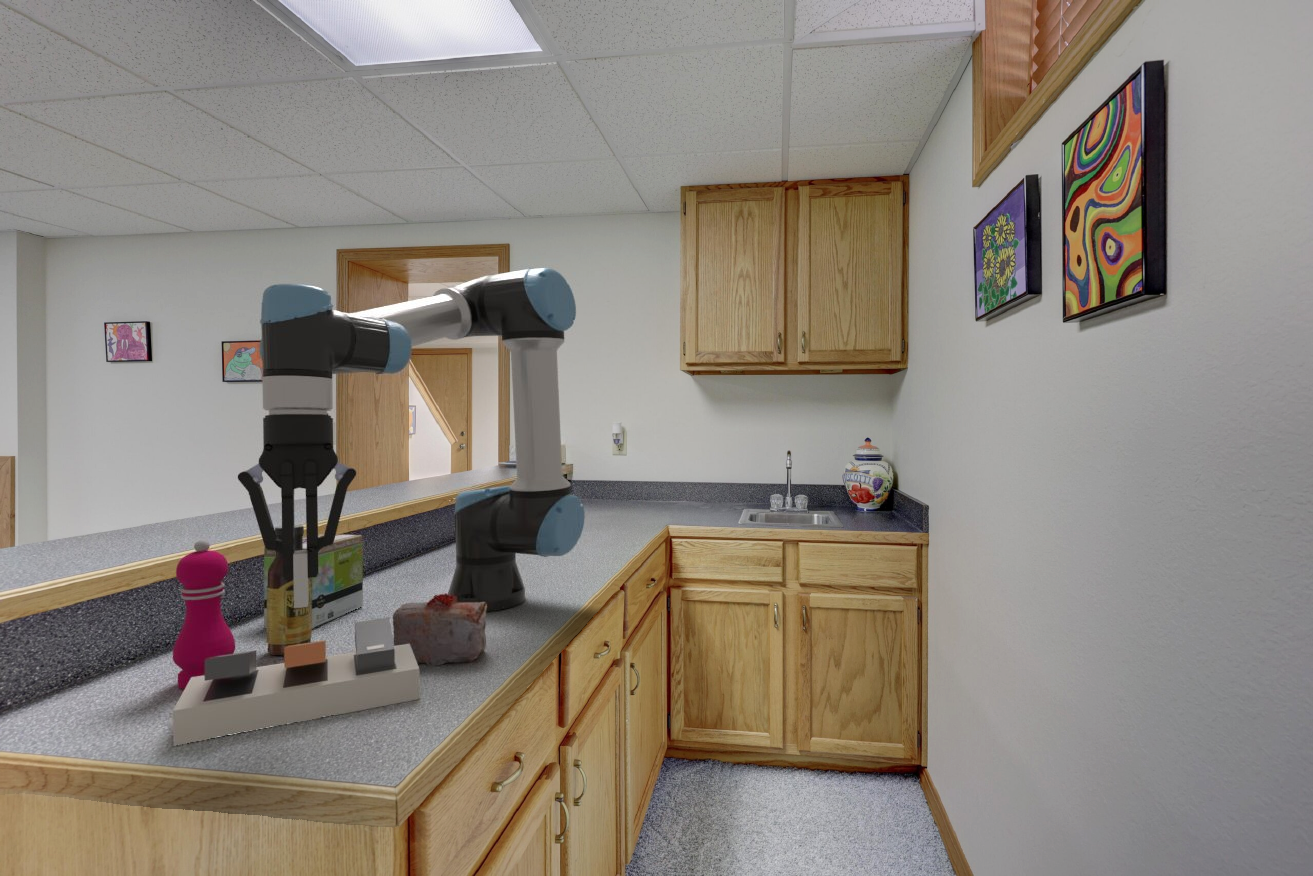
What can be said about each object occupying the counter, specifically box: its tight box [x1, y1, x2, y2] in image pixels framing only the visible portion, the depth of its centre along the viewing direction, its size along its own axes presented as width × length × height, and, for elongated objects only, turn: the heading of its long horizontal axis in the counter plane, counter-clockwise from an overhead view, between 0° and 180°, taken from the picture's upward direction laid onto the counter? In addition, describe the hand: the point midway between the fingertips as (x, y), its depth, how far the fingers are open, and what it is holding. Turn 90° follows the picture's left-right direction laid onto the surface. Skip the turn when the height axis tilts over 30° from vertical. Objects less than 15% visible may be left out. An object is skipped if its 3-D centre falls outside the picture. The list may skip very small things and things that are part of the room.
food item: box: [392, 593, 487, 667], centre depth 99 cm, size 14×8×10 cm, turn 93°
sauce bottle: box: [266, 524, 313, 656], centre depth 103 cm, size 7×6×20 cm
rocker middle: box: [283, 640, 327, 668], centre depth 83 cm, size 4×8×2 cm, turn 27°
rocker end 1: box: [205, 650, 257, 681], centre depth 79 cm, size 4×8×2 cm, turn 27°
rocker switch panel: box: [172, 644, 421, 747], centre depth 83 cm, size 26×11×4 cm, turn 117°
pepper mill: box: [172, 539, 236, 691], centre depth 91 cm, size 7×7×20 cm
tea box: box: [263, 533, 364, 630], centre depth 121 cm, size 15×10×15 cm, turn 171°
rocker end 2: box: [354, 617, 395, 671], centre depth 86 cm, size 4×8×2 cm, turn 27°
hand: (301, 604), depth 80 cm, fingers closed
